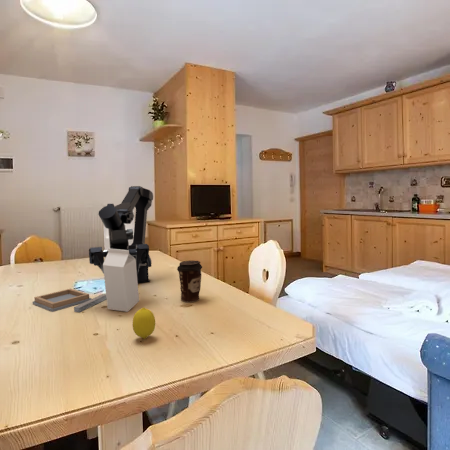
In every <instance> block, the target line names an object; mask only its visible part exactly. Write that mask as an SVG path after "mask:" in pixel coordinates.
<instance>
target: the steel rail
mask: <svg viewBox="0 0 450 450" xmlns="http://www.w3.org/2000/svg"><path fill="white" fill-rule="evenodd" d="M104 301H107V298H106V293H105V294H103V293H102V294H99V295H98V296H95V297H93V298H92V299H91V300H89V301H86V302H84V303H81V304H78V305H74V306H73V311H74V312H75V313H81V312H84V311H85V310H88V309H90V308H91V307H93V306H96V305H97V304H99V303H102V302H104Z"/></svg>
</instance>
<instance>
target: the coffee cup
mask: <svg viewBox="0 0 450 450" xmlns="http://www.w3.org/2000/svg"><path fill="white" fill-rule="evenodd" d="M202 269H203V266H202V264H201V261H199V260H185V261H180V262H179V265H178V266H177V268H176V270H177V272H178V276H179V278H178V279H179V282H180V283H179V284H180V286H179V287H180V295H181V296H180V301H181V302H183V303H194V302H197V301H199V300H200V291H201V286H202V285H201V282H202Z"/></svg>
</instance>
